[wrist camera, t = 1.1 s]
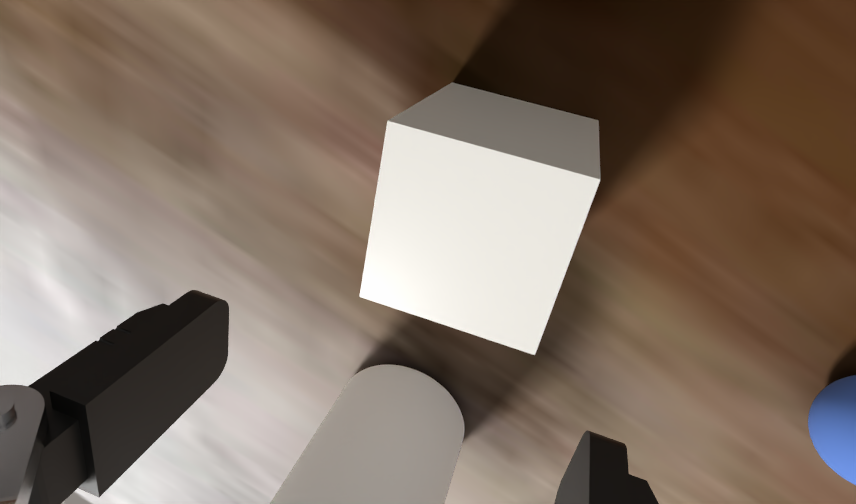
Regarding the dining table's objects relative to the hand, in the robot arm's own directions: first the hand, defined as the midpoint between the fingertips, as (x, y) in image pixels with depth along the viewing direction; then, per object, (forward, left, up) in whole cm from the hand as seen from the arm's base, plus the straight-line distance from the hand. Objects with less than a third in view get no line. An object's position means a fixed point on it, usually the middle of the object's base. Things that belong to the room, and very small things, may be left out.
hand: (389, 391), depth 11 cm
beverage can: (+17, -2, -17) cm, 24 cm away
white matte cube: (0, 0, -16) cm, 16 cm away
